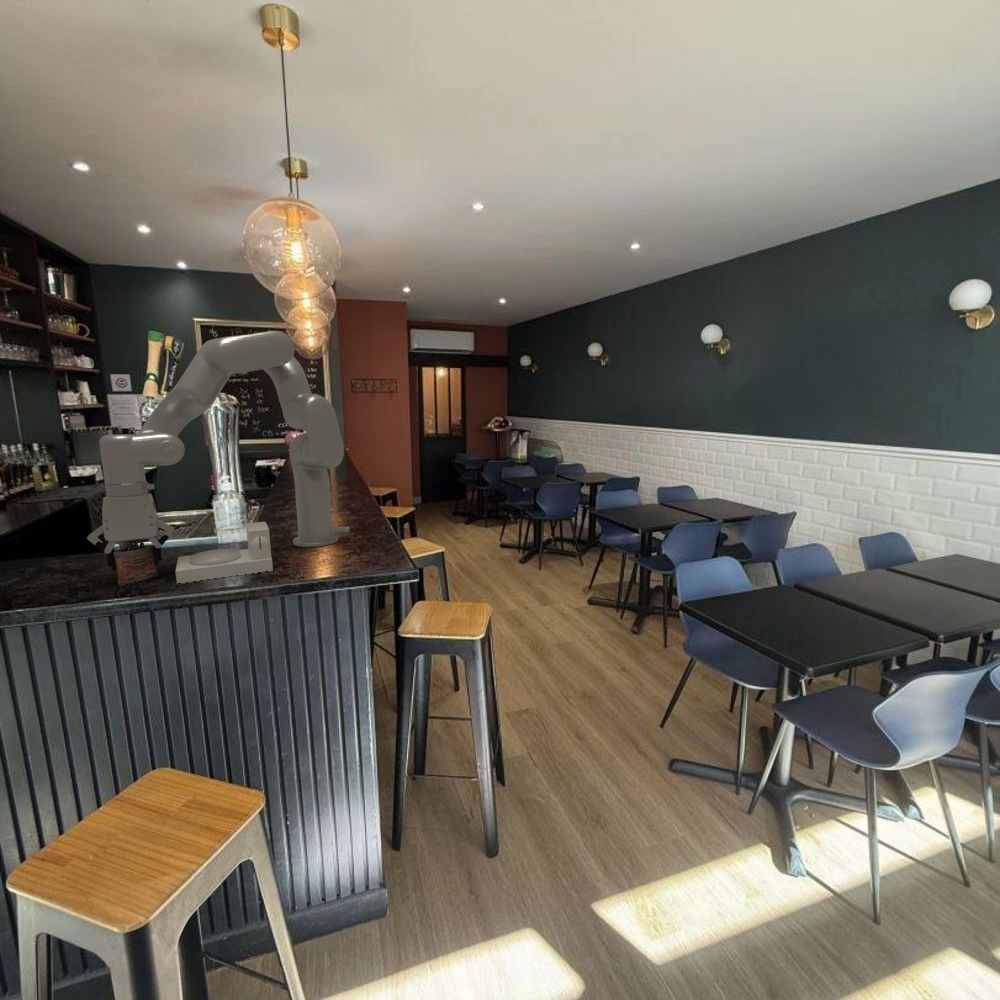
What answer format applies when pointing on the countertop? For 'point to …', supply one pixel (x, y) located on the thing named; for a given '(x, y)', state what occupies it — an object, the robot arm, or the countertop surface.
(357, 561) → the countertop surface
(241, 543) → the countertop surface
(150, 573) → the lighter
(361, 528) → the countertop surface
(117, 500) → the robot arm
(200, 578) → the kitchen scale
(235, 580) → the countertop surface
